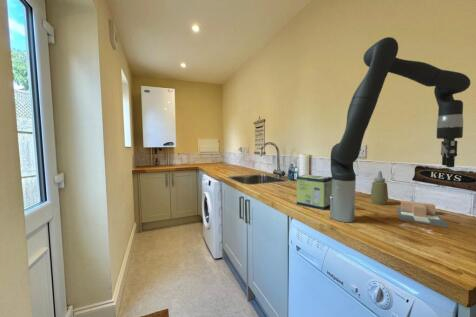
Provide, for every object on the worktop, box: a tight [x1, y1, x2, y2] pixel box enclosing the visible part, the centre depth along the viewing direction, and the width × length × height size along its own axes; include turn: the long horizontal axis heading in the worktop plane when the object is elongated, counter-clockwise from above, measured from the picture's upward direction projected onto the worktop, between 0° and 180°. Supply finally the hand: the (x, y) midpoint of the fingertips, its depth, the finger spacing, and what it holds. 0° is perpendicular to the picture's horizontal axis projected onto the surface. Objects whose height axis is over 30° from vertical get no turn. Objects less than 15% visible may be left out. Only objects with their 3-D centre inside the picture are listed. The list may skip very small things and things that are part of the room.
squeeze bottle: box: [369, 170, 389, 206], centre depth 113 cm, size 8×8×18 cm
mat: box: [396, 206, 450, 229], centre depth 93 cm, size 15×23×1 cm, turn 146°
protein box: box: [296, 174, 332, 211], centre depth 112 cm, size 10×16×16 cm
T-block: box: [400, 200, 436, 217], centre depth 96 cm, size 12×11×4 cm
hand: (447, 166), depth 86 cm, fingers open, 8 cm apart
